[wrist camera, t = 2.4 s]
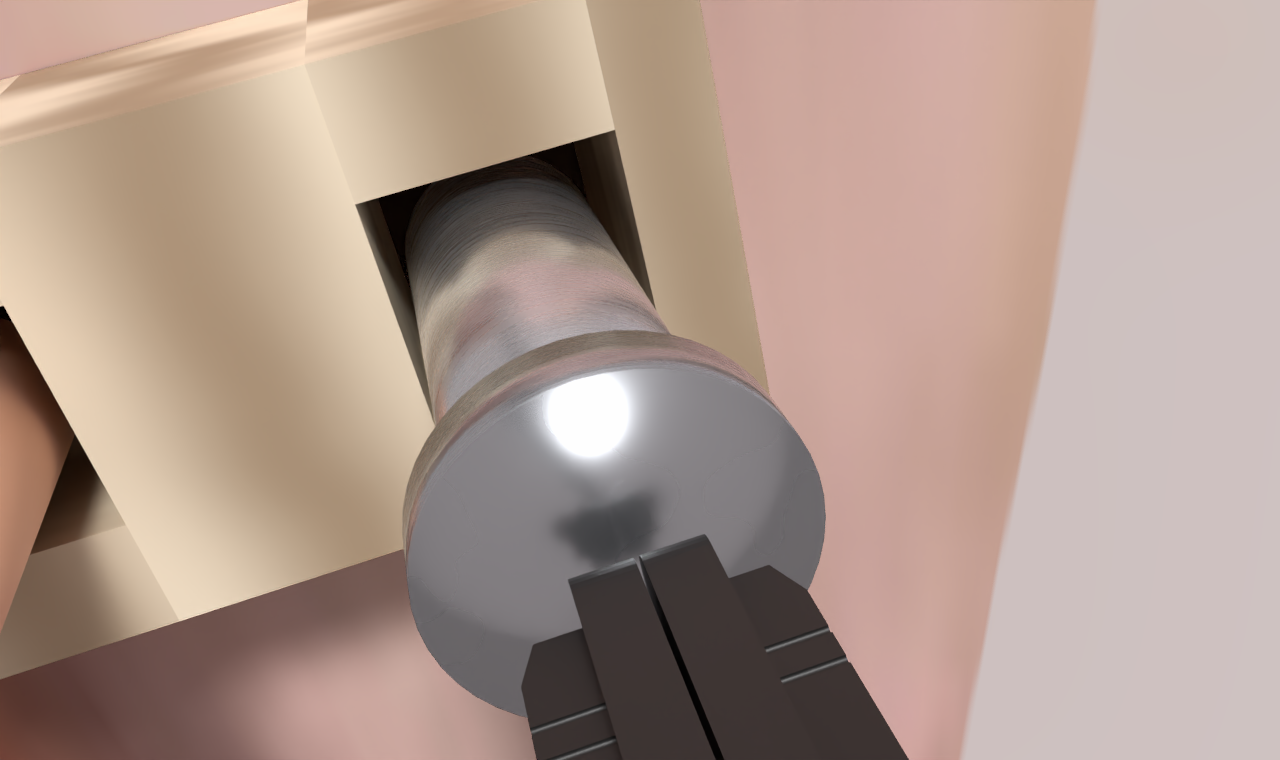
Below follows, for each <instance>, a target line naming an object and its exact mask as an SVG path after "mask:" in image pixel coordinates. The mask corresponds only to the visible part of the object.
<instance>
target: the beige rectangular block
mask: <svg viewBox="0 0 1280 760" xmlns="http://www.w3.org/2000/svg"><path fill="white" fill-rule="evenodd" d="M571 142H573V143H574V147H575V151H576V155H577V159H578V163H579V167H580V171H581V175H582V179H583V183H584V187H585V191H586V195H587V199H588V203H589V205H590V207H591V208H592V210H593V212H594V213H595V215H596V216H597V218H598V219H599V221H600V223H601V224H602V226H603V227H604V229H605V230H606V232H607V234H608V235H609V237H610V238H611V240H612V242H613V243H614V245H615V246H616V248H617V249H618V251H619V253H620V254H621V256H622V257H623V259H624V261H625V262H626V264H627V265H628V267H629V268H630V270H631V272H632V273H633V275H634V276H635V278H636V280H637V281H638V283H639V284H640V286H641V287H642V289H643V291H644V292H645V294H646V295H647V297H648V298H649V300H650V302H651V303H652V305H653V306H654V308H655V310H656V311H657V313H658V314H659V316H660V317H661V319H662V321H663V322H664V324H665V325H666V327H667V329H668V330H669V332H670V333H671V335H674V336H678V337H682V338H686V339H690V340H693V341H695V342H698V343H700V344H703V345H705V346H707V347H710V348H712V349H715V350H716V351H718V352H720V353H721V354H723V355H725V356H726V357H728V358H730V359H731V360H733V361H735V362H736V363H737V364H739V365H740V366H741V367H742V368H743V369H745V370H746V371H747V372H748V373H749V374H751V375H752V376H753V377H754V378H755V379H756V380H757V381H758V383H759V384H760V385H761V386H762V387H763V388H764V389H765V390H766V392H767V393H768V394H769V388H768V382H767V377H766V371H765V365H764V360H763V354H762V349H761V343H760V337H759V332H758V326H757V320H756V315H755V309H754V303H753V298H752V292H751V286H750V281H749V275H748V270H747V264H746V258H745V253H744V247H743V241H742V236H741V230H740V224H739V219H738V213H737V207H736V202H735V196H734V191H733V185H732V179H731V174H730V168H729V162H728V157H727V151H726V145H725V140H724V134H723V129H722V123H721V117H720V112H719V106H718V100H717V95H716V89H715V83H714V78H713V72H712V66H711V61H710V55H709V50H708V44H707V38H706V33H705V27H704V21H703V16H702V10H701V4H700V0H301V1H297V2H293V3H289V4H286V5H282V6H278V7H274V8H271V9H267V10H263V11H259V12H255V13H252V14H248V15H244V16H240V17H237V18H233V19H229V20H225V21H222V22H218V23H214V24H210V25H207V26H203V27H199V28H195V29H192V30H188V31H184V32H180V33H176V34H173V35H169V36H165V37H161V38H158V39H154V40H150V41H146V42H143V43H139V44H135V45H131V46H128V47H124V48H120V49H116V50H112V51H109V52H105V53H101V54H97V55H94V56H90V57H86V58H82V59H79V60H75V61H71V62H67V63H64V64H60V65H56V66H52V67H49V68H45V69H41V70H37V71H33V72H30V73H26V74H22V75H18V76H15V77H11V78H7V79H3V80H0V306H4V307H5V309H6V311H7V313H8V315H9V316H10V318H11V320H12V322H13V323H14V325H15V327H16V329H17V331H18V332H19V334H20V336H21V338H22V340H23V341H24V343H25V345H26V347H27V349H28V350H29V352H30V354H31V356H32V357H33V359H34V361H35V363H36V365H37V366H38V368H39V370H40V372H41V374H42V375H43V377H44V379H45V381H46V383H47V384H48V386H49V388H50V390H51V392H52V393H53V395H54V397H55V399H56V400H57V402H58V404H59V406H60V408H61V409H62V411H63V413H64V415H65V417H66V418H67V420H68V422H69V424H70V426H71V427H72V429H73V431H74V433H75V435H74V438H73V441H72V443H71V446H70V449H69V451H68V454H67V457H66V459H65V462H64V465H63V467H62V470H61V473H60V475H59V478H58V481H57V483H56V486H55V489H54V491H53V494H52V497H51V499H50V502H49V505H48V507H47V510H46V513H45V515H44V518H43V521H42V523H41V526H40V529H39V531H38V534H37V537H36V539H35V542H34V545H33V547H32V550H31V553H30V555H29V558H28V561H27V563H26V566H25V569H24V571H23V574H22V577H21V579H20V582H19V585H18V588H17V590H16V593H15V596H14V598H13V601H12V604H11V606H10V609H9V612H8V614H7V617H6V620H5V622H4V625H3V628H2V630H1V633H0V679H3V678H6V677H9V676H12V675H15V674H18V673H21V672H25V671H28V670H31V669H34V668H37V667H40V666H43V665H46V664H49V663H52V662H55V661H59V660H62V659H65V658H68V657H71V656H74V655H77V654H80V653H83V652H86V651H90V650H93V649H96V648H99V647H102V646H105V645H108V644H111V643H114V642H117V641H120V640H124V639H127V638H130V637H133V636H136V635H139V634H142V633H145V632H148V631H151V630H154V629H158V628H161V627H164V626H167V625H170V624H173V623H176V622H179V621H182V620H185V619H189V618H192V617H195V616H198V615H201V614H204V613H207V612H210V611H213V610H216V609H219V608H223V607H226V606H229V605H232V604H235V603H238V602H241V601H244V600H247V599H250V598H253V597H257V596H260V595H263V594H266V593H269V592H272V591H275V590H278V589H281V588H284V587H288V586H291V585H294V584H297V583H300V582H303V581H306V580H309V579H312V578H315V577H318V576H322V575H325V574H328V573H331V572H334V571H337V570H340V569H343V568H346V567H349V566H353V565H356V564H359V563H362V562H365V561H368V560H371V559H374V558H377V557H380V556H383V555H387V554H390V553H393V552H396V551H399V550H402V549H404V546H403V537H402V510H403V504H404V498H405V493H406V487H407V484H408V481H409V478H410V475H411V472H412V469H413V466H414V463H415V461H416V459H417V457H418V455H419V453H420V451H421V449H422V447H423V445H424V443H425V442H426V440H427V438H428V437H429V435H430V434H431V432H432V431H433V430H434V428H435V427H436V426H435V420H434V415H433V409H432V403H431V398H430V392H429V387H428V381H427V375H426V370H425V364H424V359H423V353H422V347H421V342H420V336H419V331H418V325H417V319H416V314H415V308H414V303H413V298H412V295H411V292H410V289H409V286H408V283H407V280H406V278H405V275H404V272H403V269H402V266H401V263H400V260H399V258H398V255H397V252H396V249H395V246H394V243H393V240H392V237H391V235H390V232H389V229H388V226H387V223H386V220H385V217H384V215H383V212H382V209H381V206H380V203H379V200H378V198H379V197H383V196H386V195H390V194H393V193H397V192H400V191H404V190H407V189H411V188H414V187H418V186H421V185H425V184H428V183H432V182H435V181H439V180H442V179H445V178H449V177H452V176H456V175H459V174H463V173H466V172H470V171H473V170H477V169H480V168H484V167H487V166H491V165H494V164H498V163H501V162H505V161H508V160H512V159H515V158H519V157H522V156H525V155H529V154H532V153H536V152H539V151H543V150H546V149H550V148H553V147H557V146H560V145H564V144H567V143H571ZM769 395H770V394H769Z"/></svg>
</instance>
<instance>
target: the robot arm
mask: <svg viewBox="0 0 1280 760" xmlns="http://www.w3.org/2000/svg"><path fill="white" fill-rule="evenodd" d="M639 561H640V565H641V569H642V573H643V577H644V580H643V578H642V576H641V573H640V571H639V568H638V566H637V563H636V561H635V559H634V558H631V559H628V560H625V561H622V562H618V563H615V564H612V565H609V566H606V567H603V568H600V569H597V570H594V571H591V572H588V573H585V574H582V575H579V576H576V577H573V578H570V579H568V582H569V586H570V589H571V592H572V595H573V599H574V602H575V605H576V608H577V612H578V615H579V618H580V621H581V625H582V628H580V629H577V630H574V631H572V632H569V633H566V634H563V635H560V636H557V637H554V638H551V639H548V640H545V641H542V642H539V643H536V644H533V646H532V650H531V653H530V657H529V660H528V664H527V667H526V671H525V674H524V678H523V681H522V685H521V690H522V694H523V699H524V703H525V708H526V712H527V717H528V722H529V726H530V730H531V733H532V740H533V744H534V749H535V753H536V758H537V760H909V759H908V758H907V756H906V754H905V753H904V751H903V749H902V748H901V746H900V744H899V743H898V741H897V739H896V738H895V736H894V734H893V733H892V731H891V729H890V728H889V726H888V724H887V723H886V721H885V719H884V718H883V716H882V714H881V713H880V711H879V709H878V708H877V706H876V704H875V703H874V701H873V699H872V698H871V696H870V694H869V693H868V691H867V689H866V688H865V686H864V684H863V683H862V681H861V679H860V678H859V676H858V674H857V673H856V671H855V669H854V668H853V666H852V664H851V663H850V662H848V660H847V658H846V654H845V653H844V651H843V649H842V648H841V646H840V644H839V643H838V641H837V639H836V638H835V636H834V634H833V633H832V632H830V630H829V627H828V624H827V623H826V621H825V619H824V618H823V616H822V614H821V613H820V611H819V609H818V608H817V606H816V604H815V603H814V601H813V599H812V598H811V596H810V594H809V593H808V591H807V589H805V588H804V587H802V586H801V585H799V584H798V583H796V582H795V581H793V580H792V579H790V578H789V577H787V576H785V575H784V574H782V573H781V572H779V571H778V570H776V569H775V568H773V567H772V566H770V565H767V566H764V567H761V568H758V569H755V570H752V571H749V572H746V573H743V574H740V575H737V576H734V577H731V578H728V576H727V574H726V572H725V570H724V568H723V566H722V564H721V562H720V560H719V558H718V556H717V554H716V552H715V550H714V548H713V546H712V544H711V542H710V541H709V539H708V537H707V536H706V535H705V534H702V535H699V536H696V537H693V538H690V539H687V540H684V541H681V542H678V543H675V544H672V545H669V546H666V547H663V548H660V549H657V550H654V551H651V552H648V553H645V554H642V555H639ZM644 581H645V583H644ZM645 584H646V585H645Z"/></svg>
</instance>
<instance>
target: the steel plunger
mask: <svg viewBox="0 0 1280 760" xmlns="http://www.w3.org/2000/svg"><path fill="white" fill-rule="evenodd" d="M405 255H406V263H407V269H408V275H409V280H410V286H411V291H412V297H413V303H414V308H415V314H416V319H417V325H418V331H419V336H420V342H421V347H422V353H423V359H424V364H425V370H426V375H427V381H428V387H429V392H430V398H431V403H432V409H433V415H434V420H435V426H436V427H435V428H434V430H433V431H432V432H431V434H430V435H429V437H428V438H427V440H426V442H425V443H424V445H423V447H422V449H421V451H420V453H419V455H418V457H417V459H416V461H415V463H414V466H413V469H412V472H411V475H410V478H409V481H408V484H407V487H406V493H405V498H404V504H403V510H402V537H403V546H404V555H405V564H406V574H407V583H408V590H409V598H410V605H411V610H412V613H413V616H414V619H415V622H416V626H417V629H418V631H419V633H420V635H421V637H422V639H423V641H424V643H425V645H426V647H427V648H428V650H429V652H430V653H431V654H432V656H433V657H434V658H435V660H436V661H437V662H438V664H439V665H440V666H441V668H442V669H443V670H444V671H445V672H446V673H447V674H449V675H450V676H451V677H452V678H453V679H454V680H455V681H456V682H457V683H458V684H459V685H461V686H462V687H463V688H465V689H466V690H468V691H469V692H470V693H472V694H473V695H475V696H476V697H478V698H480V699H482V700H484V701H485V702H487V703H489V704H491V705H493V706H495V707H497V708H500V709H502V710H505V711H508V712H511V713H513V714H516V715H519V716H523V717H527V712H526V708H525V703H524V699H523V694H522V690H521V685H522V681H523V678H524V674H525V671H526V667H527V664H528V660H529V657H530V653H531V650H532V646H533V644H536V643H539V642H542V641H545V640H548V639H551V638H554V637H557V636H560V635H563V634H566V633H569V632H572V631H574V630H577V629H580V628H582V625H581V621H580V618H579V615H578V612H577V608H576V605H575V602H574V599H573V595H572V592H571V589H570V586H569V582H568V579H570V578H573V577H576V576H579V575H582V574H585V573H588V572H591V571H594V570H597V569H600V568H603V567H606V566H609V565H612V564H615V563H618V562H622V561H625V560H628V559H631V558H634V559H635V561H636V563H637V566H638V568H639V571H640V573H641V576H642V578H643V580H644V577H643V573H642V569H641V565H640V561H639V555H642V554H645V553H648V552H651V551H654V550H657V549H660V548H663V547H666V546H669V545H672V544H675V543H678V542H681V541H684V540H687V539H690V538H693V537H696V536H699V535H702V534H705V535H706V536H707V537H708V539H709V541H710V542H711V544H712V546H713V548H714V550H715V552H716V554H717V556H718V558H719V560H720V562H721V564H722V566H723V568H724V570H725V572H726V574H727V576H728V578H731V577H734V576H737V575H740V574H743V573H746V572H749V571H752V570H755V569H758V568H761V567H764V566H767V565H770V566H772V567H773V568H775V569H776V570H778V571H779V572H781V573H782V574H784V575H785V576H787V577H789V578H790V579H792V580H793V581H795V582H796V583H798V584H799V585H801V586H802V587H804V588H805V589H807V590H808V588H809V586H810V584H811V582H812V580H813V577H814V574H815V571H816V569H817V566H818V563H819V560H820V555H821V551H822V546H823V542H824V533H825V519H826V515H825V502H824V493H823V489H822V485H821V481H820V477H819V473H818V471H817V469H816V466H815V464H814V461H813V459H812V457H811V454H810V453H809V451H808V449H807V448H806V446H805V445H804V443H803V442H802V440H801V438H800V437H799V435H798V434H797V432H796V431H795V430H794V428H793V427H792V426H791V424H790V423H789V422H788V420H787V419H786V417H785V416H784V415H783V413H782V412H781V411H780V409H779V408H778V406H777V405H776V404H775V402H774V401H773V400H772V398H771V397H770V395H769V394H768V393H767V392H766V390H765V389H764V388H763V387H762V386H761V385H760V384H759V383H758V381H757V380H756V379H755V378H754V377H753V376H752V375H751V374H749V373H748V372H747V371H746V370H745V369H743V368H742V367H741V366H740V365H739V364H737V363H736V362H735V361H733V360H731V359H730V358H728V357H726V356H725V355H723V354H721V353H720V352H718V351H716V350H715V349H712V348H710V347H707V346H705V345H703V344H700V343H698V342H695V341H693V340H690V339H686V338H682V337H678V336H674V335H671V333H670V332H669V330H668V329H667V327H666V325H665V324H664V322H663V321H662V319H661V317H660V316H659V314H658V313H657V311H656V310H655V308H654V306H653V305H652V303H651V302H650V300H649V298H648V297H647V295H646V294H645V292H644V291H643V289H642V287H641V286H640V284H639V283H638V281H637V280H636V278H635V276H634V275H633V273H632V272H631V270H630V268H629V267H628V265H627V264H626V262H625V261H624V259H623V257H622V256H621V254H620V253H619V251H618V249H617V248H616V246H615V245H614V243H613V242H612V240H611V238H610V237H609V235H608V234H607V232H606V230H605V229H604V227H603V226H602V224H601V223H600V221H599V219H598V218H597V216H596V215H595V213H594V212H593V210H592V208H591V207H590V205H589V204H588V202H587V200H586V199H585V197H584V196H583V194H582V193H581V191H580V190H579V188H578V187H577V186H576V185H575V184H574V183H573V182H572V181H571V179H569V178H568V177H567V176H566V175H565V174H564V173H562V172H561V171H560V170H558V169H557V168H555V167H553V166H552V165H550V164H548V163H546V162H544V161H542V160H539V159H536V158H533V157H530V156H526V155H525V156H522V157H519V158H515V159H512V160H508V161H505V162H501V163H498V164H494V165H491V166H487V167H484V168H480V169H477V170H473V171H470V172H466V173H463V174H459V175H456V176H452V177H449V178H445V179H442V180H439V181H435V182H432V183H431V184H430V185H429V187H428V188H427V189H426V190H425V191H424V192H423V194H422V195H421V197H420V198H419V200H418V202H417V203H416V205H415V207H414V209H413V211H412V214H411V216H410V219H409V222H408V226H407V231H406V237H405ZM644 583H645V581H644ZM645 585H646V584H645ZM527 718H528V717H527Z"/></svg>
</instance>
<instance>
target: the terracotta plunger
mask: <svg viewBox="0 0 1280 760" xmlns="http://www.w3.org/2000/svg"><path fill="white" fill-rule="evenodd" d="M74 435H75V433H74V431H73V429H72V427H71V426H70V424H69V422H68V420H67V418H66V417H65V415H64V413H63V411H62V409H61V408H60V406H59V404H58V402H57V400H56V399H55V397H54V395H53V393H52V392H51V390H50V388H49V386H48V384H47V383H46V381H45V379H44V377H43V375H42V374H41V372H40V370H39V368H38V366H37V365H36V363H35V361H34V359H33V357H32V356H31V354H30V352H29V350H28V349H27V347H26V345H25V343H24V341H23V340H22V338H21V336H20V334H19V332H18V331H17V329H16V327H15V325H14V323H12V322H10V321H8V320H5V319H2V318H0V633H1V630H2V628H3V625H4V622H5V620H6V617H7V614H8V612H9V609H10V606H11V604H12V601H13V598H14V596H15V593H16V590H17V588H18V585H19V582H20V579H21V577H22V574H23V571H24V569H25V566H26V563H27V561H28V558H29V555H30V553H31V550H32V547H33V545H34V542H35V539H36V537H37V534H38V531H39V529H40V526H41V523H42V521H43V518H44V515H45V513H46V510H47V507H48V505H49V502H50V499H51V497H52V494H53V491H54V489H55V486H56V483H57V481H58V478H59V475H60V473H61V470H62V467H63V465H64V462H65V459H66V457H67V454H68V451H69V449H70V446H71V443H72V441H73V438H74Z"/></svg>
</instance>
